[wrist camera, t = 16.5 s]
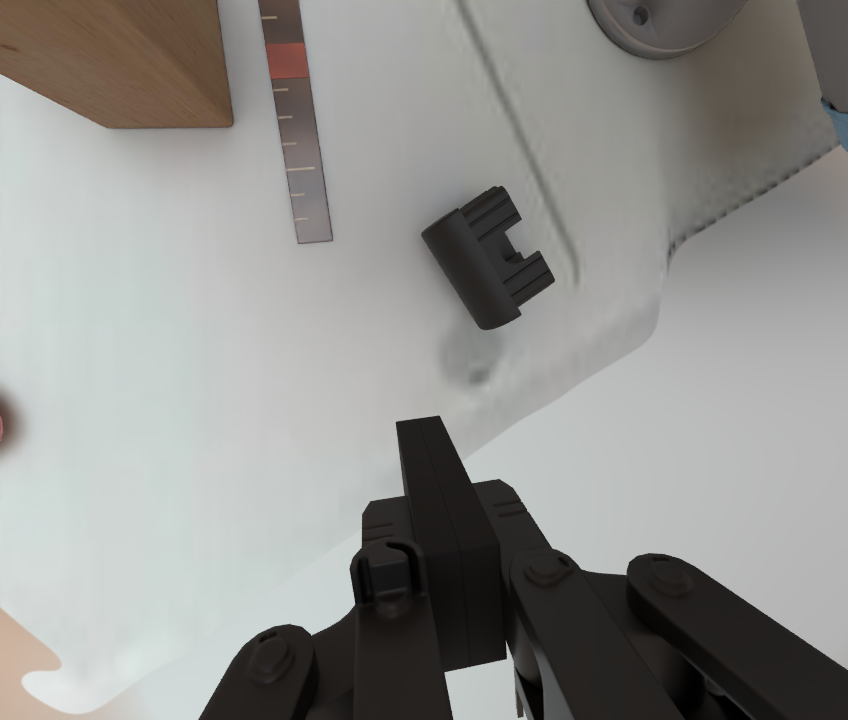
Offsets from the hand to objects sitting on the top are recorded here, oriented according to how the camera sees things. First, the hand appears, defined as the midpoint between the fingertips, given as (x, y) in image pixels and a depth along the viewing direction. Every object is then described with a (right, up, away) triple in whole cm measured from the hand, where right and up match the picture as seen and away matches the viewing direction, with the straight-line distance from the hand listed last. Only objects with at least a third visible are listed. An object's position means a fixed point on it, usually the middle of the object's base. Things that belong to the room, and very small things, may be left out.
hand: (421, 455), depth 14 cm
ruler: (-11, +23, +20) cm, 33 cm away
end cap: (+5, +13, +25) cm, 29 cm away
